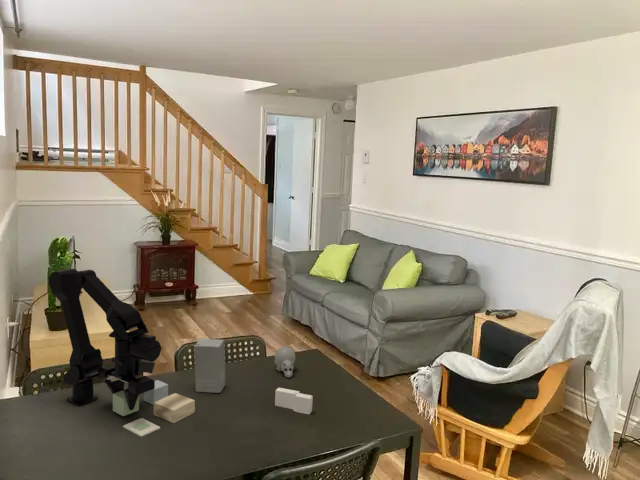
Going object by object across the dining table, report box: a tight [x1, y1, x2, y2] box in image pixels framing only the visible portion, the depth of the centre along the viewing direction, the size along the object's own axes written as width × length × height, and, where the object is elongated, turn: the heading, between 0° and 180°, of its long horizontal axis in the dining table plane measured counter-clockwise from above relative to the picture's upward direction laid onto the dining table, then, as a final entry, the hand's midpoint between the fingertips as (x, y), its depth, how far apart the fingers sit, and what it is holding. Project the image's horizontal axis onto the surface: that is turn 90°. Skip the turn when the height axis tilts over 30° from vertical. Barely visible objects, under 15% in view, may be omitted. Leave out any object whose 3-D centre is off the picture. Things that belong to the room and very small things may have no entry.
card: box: [122, 417, 161, 437], centre depth 144 cm, size 8×6×1 cm
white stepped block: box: [274, 387, 314, 415], centre depth 159 cm, size 15×11×6 cm
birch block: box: [153, 392, 196, 424], centre depth 153 cm, size 8×8×4 cm
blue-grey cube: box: [143, 379, 169, 406], centre depth 161 cm, size 5×5×5 cm
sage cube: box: [112, 391, 140, 417], centre depth 151 cm, size 5×5×5 cm
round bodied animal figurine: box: [274, 346, 296, 379], centre depth 186 cm, size 7×12×8 cm, turn 13°
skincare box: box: [193, 338, 226, 394], centre depth 169 cm, size 8×7×16 cm
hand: (125, 406), depth 151 cm, fingers closed on sage cube, 5 cm apart
